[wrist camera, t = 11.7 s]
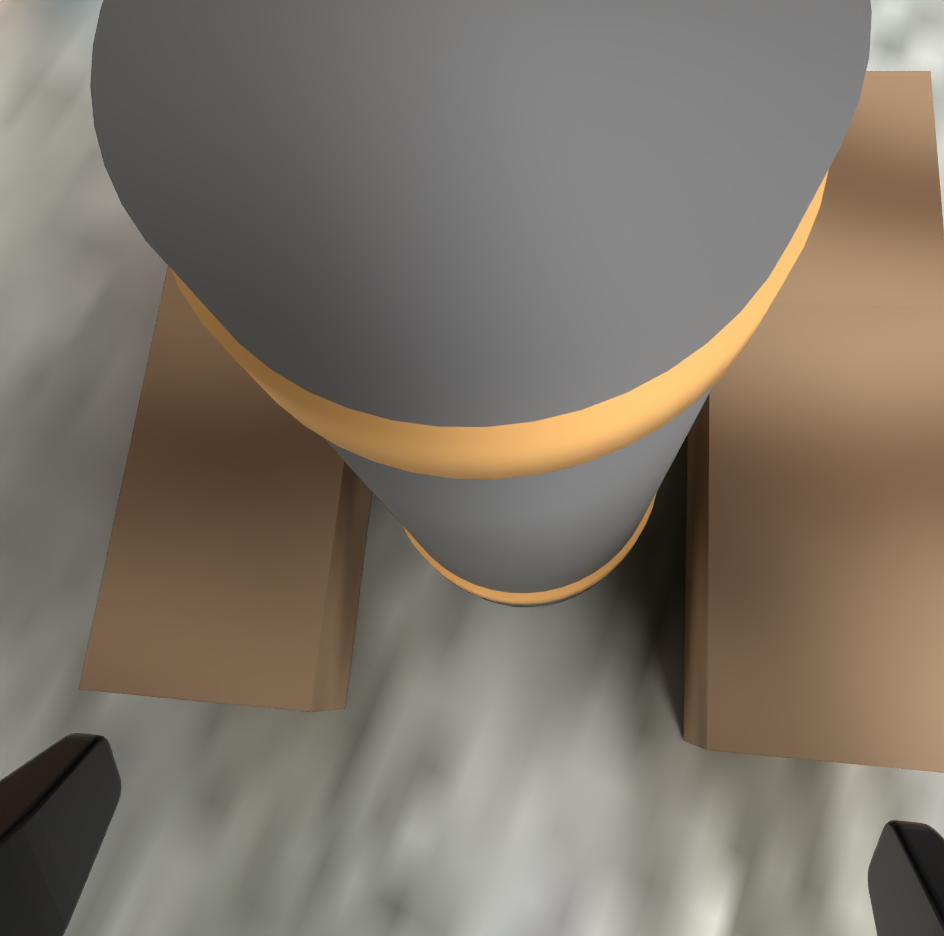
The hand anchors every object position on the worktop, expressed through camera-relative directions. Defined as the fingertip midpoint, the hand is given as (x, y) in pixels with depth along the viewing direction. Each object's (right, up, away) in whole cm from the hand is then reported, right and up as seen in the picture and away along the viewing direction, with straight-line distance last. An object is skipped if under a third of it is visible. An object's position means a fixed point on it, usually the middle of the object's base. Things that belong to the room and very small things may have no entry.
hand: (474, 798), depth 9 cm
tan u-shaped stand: (+1, +6, +9) cm, 11 cm away
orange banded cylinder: (+1, +3, +8) cm, 9 cm away
